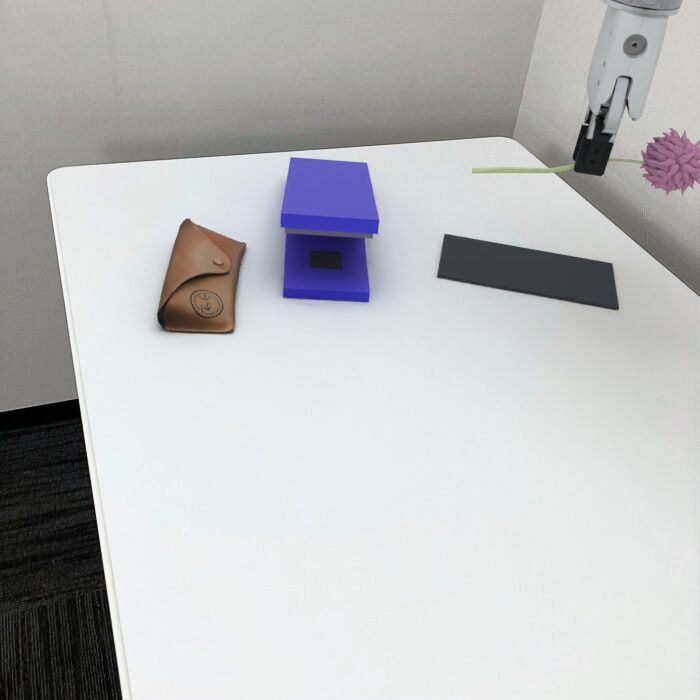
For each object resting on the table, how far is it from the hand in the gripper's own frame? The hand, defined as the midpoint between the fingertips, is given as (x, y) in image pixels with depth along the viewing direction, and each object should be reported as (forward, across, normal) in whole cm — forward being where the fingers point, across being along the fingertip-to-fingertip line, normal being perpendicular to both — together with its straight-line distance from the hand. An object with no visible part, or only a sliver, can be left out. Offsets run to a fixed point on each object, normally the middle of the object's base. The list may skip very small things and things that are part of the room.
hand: (587, 166), depth 84 cm
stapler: (+17, +4, +29) cm, 33 cm away
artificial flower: (+2, -1, 0) cm, 2 cm away
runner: (+17, +4, +3) cm, 17 cm away
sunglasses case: (+17, -11, +40) cm, 45 cm away
